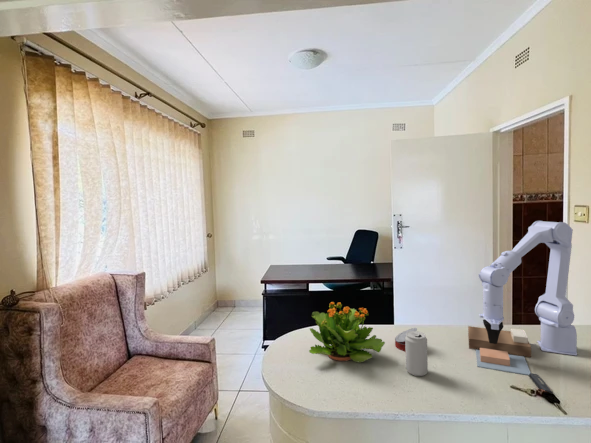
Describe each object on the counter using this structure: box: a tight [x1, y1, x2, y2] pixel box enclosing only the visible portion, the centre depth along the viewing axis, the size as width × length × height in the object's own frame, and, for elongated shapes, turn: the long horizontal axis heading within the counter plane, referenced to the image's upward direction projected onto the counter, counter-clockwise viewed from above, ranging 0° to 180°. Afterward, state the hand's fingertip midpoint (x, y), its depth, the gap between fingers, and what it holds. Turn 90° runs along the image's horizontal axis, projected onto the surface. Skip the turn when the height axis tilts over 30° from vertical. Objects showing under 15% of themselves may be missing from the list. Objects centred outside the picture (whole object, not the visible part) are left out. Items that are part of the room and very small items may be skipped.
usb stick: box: [528, 372, 554, 394], centre depth 93 cm, size 10×3×2 cm, turn 165°
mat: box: [475, 349, 531, 376], centre depth 106 cm, size 14×12×1 cm
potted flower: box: [308, 301, 386, 363], centre depth 115 cm, size 25×24×18 cm
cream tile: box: [510, 328, 529, 344], centre depth 114 cm, size 4×7×2 cm, turn 154°
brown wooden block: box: [467, 325, 532, 358], centre depth 117 cm, size 18×12×4 cm, turn 64°
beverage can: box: [404, 330, 429, 377], centre depth 102 cm, size 6×6×12 cm
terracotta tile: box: [480, 348, 510, 366], centre depth 107 cm, size 8×6×2 cm
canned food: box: [394, 327, 418, 352], centre depth 119 cm, size 10×9×9 cm
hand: (492, 342), depth 110 cm, fingers closed
